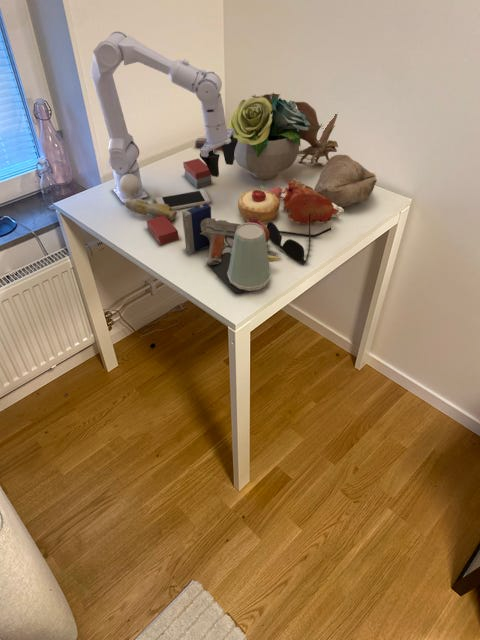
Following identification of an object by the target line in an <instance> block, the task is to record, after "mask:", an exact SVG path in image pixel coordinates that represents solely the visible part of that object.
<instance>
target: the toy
mask: <svg viewBox="0 0 480 640" xmlns="http://www.w3.org/2000/svg"><path fill="white" fill-rule="evenodd" d="M268 247H269V245H268V244H267V252H268V253H269V254H270V255H271V256H276V257H279V255H278V254H277V251H276V252H273V251H272V250H269V249H268Z"/></svg>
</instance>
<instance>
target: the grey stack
mask: <svg viewBox="0 0 480 640" xmlns="http://www.w3.org/2000/svg"><path fill="white" fill-rule="evenodd" d="M184 177H185V178H186V179H187V180H188V182H190V183H191V184H192V185H193V187H195V188H196V189H200V188H204V187H207V186H211V185H212V184H213V183H212V182H213V180H212V175H211V176H207V177H203V178H200V179H195V178H194V177H193V176H192V175H191V174H190V173H189V172H187V171H186V170H185V169H184Z"/></svg>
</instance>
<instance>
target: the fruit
mask: <svg viewBox="0 0 480 640" xmlns="http://www.w3.org/2000/svg"><path fill="white" fill-rule="evenodd" d="M248 222H251V223H257V224H259V225H260V226H262V228H263V230H264V232H265V236H266V244H267V245H268V243H269V240H270V239H269V235H270V234H269V230H268V228H267V225H266V224H265V223H262V222H260V221H258V219H257V217H251V218H249V221H248V220H247V221H246V222H245V223H248Z"/></svg>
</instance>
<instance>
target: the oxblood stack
mask: <svg viewBox="0 0 480 640" xmlns="http://www.w3.org/2000/svg"><path fill="white" fill-rule="evenodd" d="M146 226H147V230H148V231H149V233H150V234H151V235H152V237H153V238H154V239H155V240H156V242H157V243H158V244H159V246H162V245H166V244H169V243H172V242H176V241H179V240H180V237H179V231H178V229H177V228H176V227H175V226H174V225H173V223H172V221H169V220H168V219H167V218H166V216H165V215H164V216H160V217H154V218H151V219H147V220H146Z"/></svg>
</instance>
